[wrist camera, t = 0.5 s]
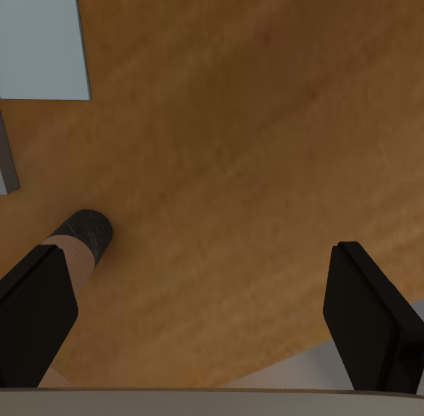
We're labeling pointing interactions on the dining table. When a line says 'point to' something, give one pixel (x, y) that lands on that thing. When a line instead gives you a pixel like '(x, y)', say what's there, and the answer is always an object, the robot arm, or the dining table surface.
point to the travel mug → (82, 244)
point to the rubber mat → (42, 51)
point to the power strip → (6, 165)
